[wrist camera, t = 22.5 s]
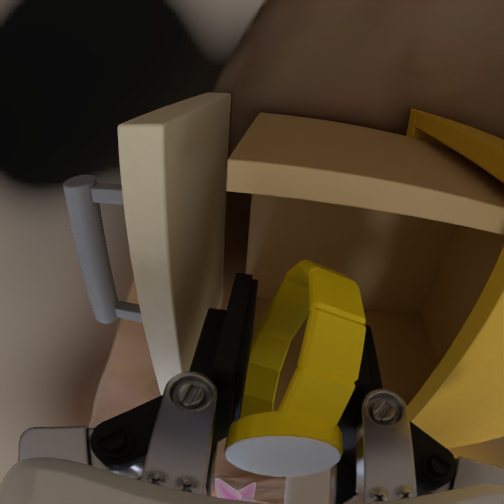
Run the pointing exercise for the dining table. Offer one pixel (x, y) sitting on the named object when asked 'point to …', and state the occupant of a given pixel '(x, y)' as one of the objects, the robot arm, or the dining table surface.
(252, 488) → the lily
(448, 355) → the cabinet
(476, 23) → the dining table surface
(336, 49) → the dining table surface
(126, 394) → the dining table surface
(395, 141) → the drawer
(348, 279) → the watch
